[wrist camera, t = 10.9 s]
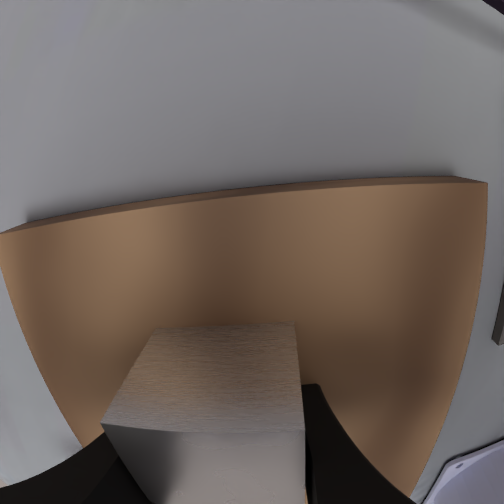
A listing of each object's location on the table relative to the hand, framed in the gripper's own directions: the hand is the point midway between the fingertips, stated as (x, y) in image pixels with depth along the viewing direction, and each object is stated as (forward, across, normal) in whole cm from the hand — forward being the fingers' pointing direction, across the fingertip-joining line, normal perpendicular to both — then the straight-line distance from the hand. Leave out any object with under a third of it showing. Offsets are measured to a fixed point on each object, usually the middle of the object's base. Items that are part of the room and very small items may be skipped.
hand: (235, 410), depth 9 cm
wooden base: (+2, 0, +2) cm, 3 cm away
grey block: (0, 0, 0) cm, 0 cm away
